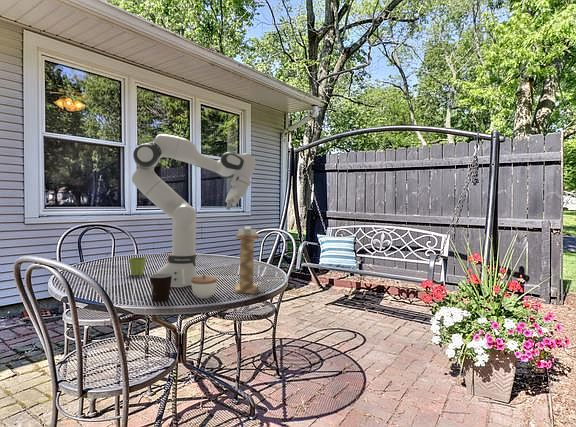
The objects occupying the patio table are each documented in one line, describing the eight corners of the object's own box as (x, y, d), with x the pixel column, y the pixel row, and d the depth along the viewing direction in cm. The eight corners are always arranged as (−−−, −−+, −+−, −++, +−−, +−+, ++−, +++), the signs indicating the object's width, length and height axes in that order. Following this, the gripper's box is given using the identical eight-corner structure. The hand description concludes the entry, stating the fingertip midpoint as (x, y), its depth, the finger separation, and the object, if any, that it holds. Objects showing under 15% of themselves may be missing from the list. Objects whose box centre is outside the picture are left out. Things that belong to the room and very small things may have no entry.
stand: (234, 293, 163) (236, 235, 162) (235, 286, 175) (237, 232, 175) (257, 293, 164) (258, 235, 163) (256, 286, 176) (257, 233, 176)
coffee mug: (169, 302, 146) (170, 277, 146) (147, 302, 145) (147, 277, 145) (174, 294, 158) (174, 271, 158) (153, 295, 157) (153, 272, 156)
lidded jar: (201, 292, 163) (202, 271, 163) (221, 295, 159) (221, 274, 158) (185, 297, 154) (185, 275, 153) (206, 301, 149) (206, 278, 149)
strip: (238, 235, 164) (238, 229, 164) (239, 231, 184) (239, 226, 183) (256, 235, 165) (256, 229, 164) (255, 231, 184) (255, 226, 184)
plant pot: (123, 275, 194) (124, 259, 193) (136, 272, 203) (136, 256, 202) (138, 277, 191) (138, 260, 191) (150, 273, 200) (150, 258, 200)
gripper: (227, 185, 193) (218, 209, 188) (241, 175, 175) (231, 201, 170) (238, 190, 195) (229, 214, 190) (252, 181, 177) (243, 206, 173)
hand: (230, 207), depth 180 cm, fingers open, 8 cm apart
